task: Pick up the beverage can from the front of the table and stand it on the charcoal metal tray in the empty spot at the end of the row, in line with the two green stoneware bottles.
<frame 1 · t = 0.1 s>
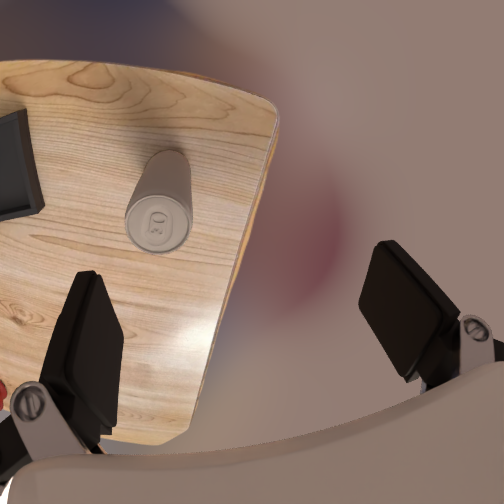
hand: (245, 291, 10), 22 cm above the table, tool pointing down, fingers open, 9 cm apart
beverage can: (168, 170, 29), on the table
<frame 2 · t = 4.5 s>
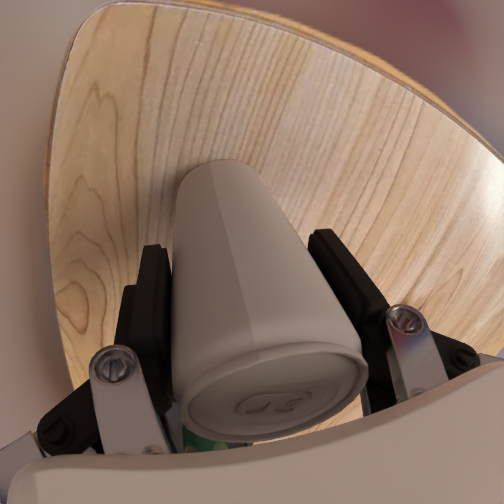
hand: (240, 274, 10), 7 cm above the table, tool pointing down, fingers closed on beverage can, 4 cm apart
middle bottle: (203, 428, 30), point 1 cm above the table, touching tray
tray: (202, 424, 31), on the table
beverage can: (220, 196, 16), on the table, touching gripper
when the fingers open (7 cm above the table, at t = 12.1 s): beverage can stays where it is, resting on tray.
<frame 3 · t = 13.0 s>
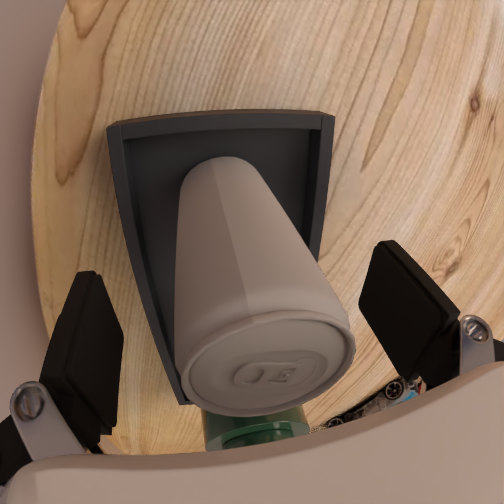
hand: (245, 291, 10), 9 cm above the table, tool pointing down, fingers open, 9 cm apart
middle bottle: (227, 298, 21), point 1 cm above the table, touching tray
tray: (226, 292, 22), on the table
toy car: (369, 403, 41), on the table
beverage can: (221, 191, 17), resting on tray
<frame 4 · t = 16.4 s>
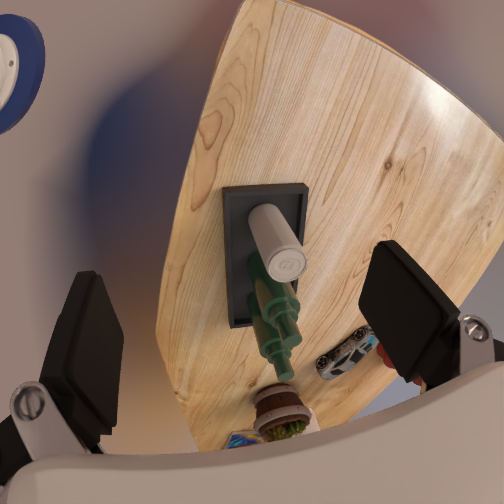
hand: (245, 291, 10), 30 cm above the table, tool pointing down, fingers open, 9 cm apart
flowerpot: (274, 391, 73), on the table
middle bottle: (262, 262, 47), point 1 cm above the table, touching tray
tray: (261, 260, 47), on the table
toy car: (345, 347, 67), on the table
beverage can: (263, 216, 42), resting on tray
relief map: (245, 442, 93), on the table
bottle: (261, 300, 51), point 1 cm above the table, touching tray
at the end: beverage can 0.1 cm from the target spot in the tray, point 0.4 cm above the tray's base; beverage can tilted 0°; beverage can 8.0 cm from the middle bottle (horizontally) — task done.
